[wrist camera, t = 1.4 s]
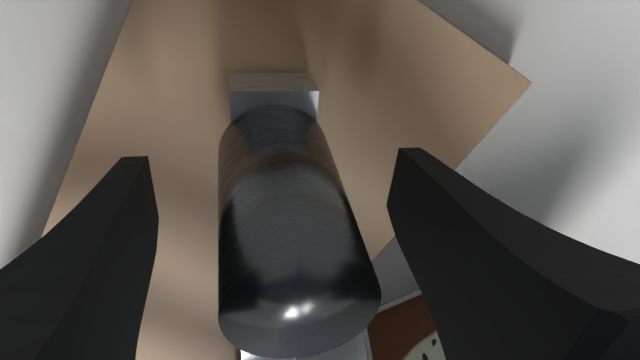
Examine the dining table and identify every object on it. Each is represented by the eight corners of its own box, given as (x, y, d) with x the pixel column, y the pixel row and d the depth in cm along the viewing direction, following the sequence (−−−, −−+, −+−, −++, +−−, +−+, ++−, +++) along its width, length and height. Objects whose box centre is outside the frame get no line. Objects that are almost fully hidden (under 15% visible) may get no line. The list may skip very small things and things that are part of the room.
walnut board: (253, 364, 25) (255, 390, 24) (9, 323, 19) (-4, 354, 18) (509, 65, 16) (532, 83, 15) (195, -159, 11) (193, -159, 10)
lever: (297, 374, 23) (321, 535, 18) (234, 382, 22) (239, 552, 17) (325, 72, 13) (398, 231, 8) (214, 72, 12) (211, 244, 7)
